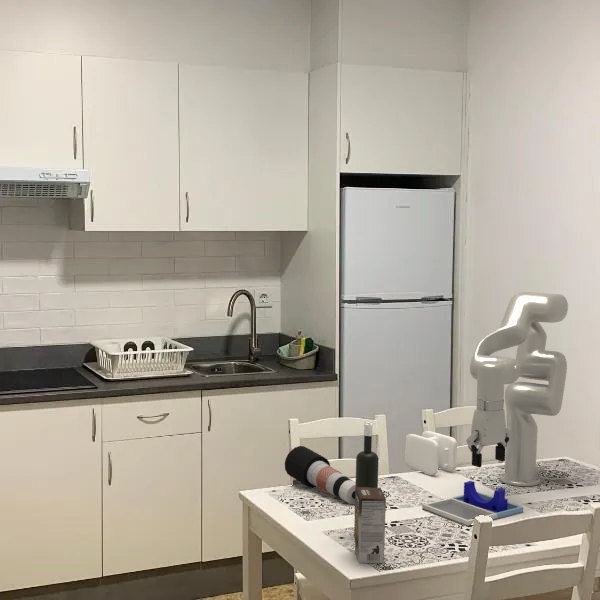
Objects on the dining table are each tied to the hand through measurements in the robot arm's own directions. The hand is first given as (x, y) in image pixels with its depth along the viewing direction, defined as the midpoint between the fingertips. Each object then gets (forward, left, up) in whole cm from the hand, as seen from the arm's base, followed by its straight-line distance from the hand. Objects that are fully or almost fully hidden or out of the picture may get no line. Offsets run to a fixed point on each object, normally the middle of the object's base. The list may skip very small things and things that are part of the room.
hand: (488, 463), depth 274 cm
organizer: (-14, -38, -13) cm, 42 cm away
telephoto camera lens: (+30, -35, -13) cm, 48 cm away
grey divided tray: (+6, 0, -13) cm, 14 cm away
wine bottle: (+45, -1, -13) cm, 47 cm away
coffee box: (+54, +11, -13) cm, 57 cm away
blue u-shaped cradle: (+1, 0, -13) cm, 13 cm away
